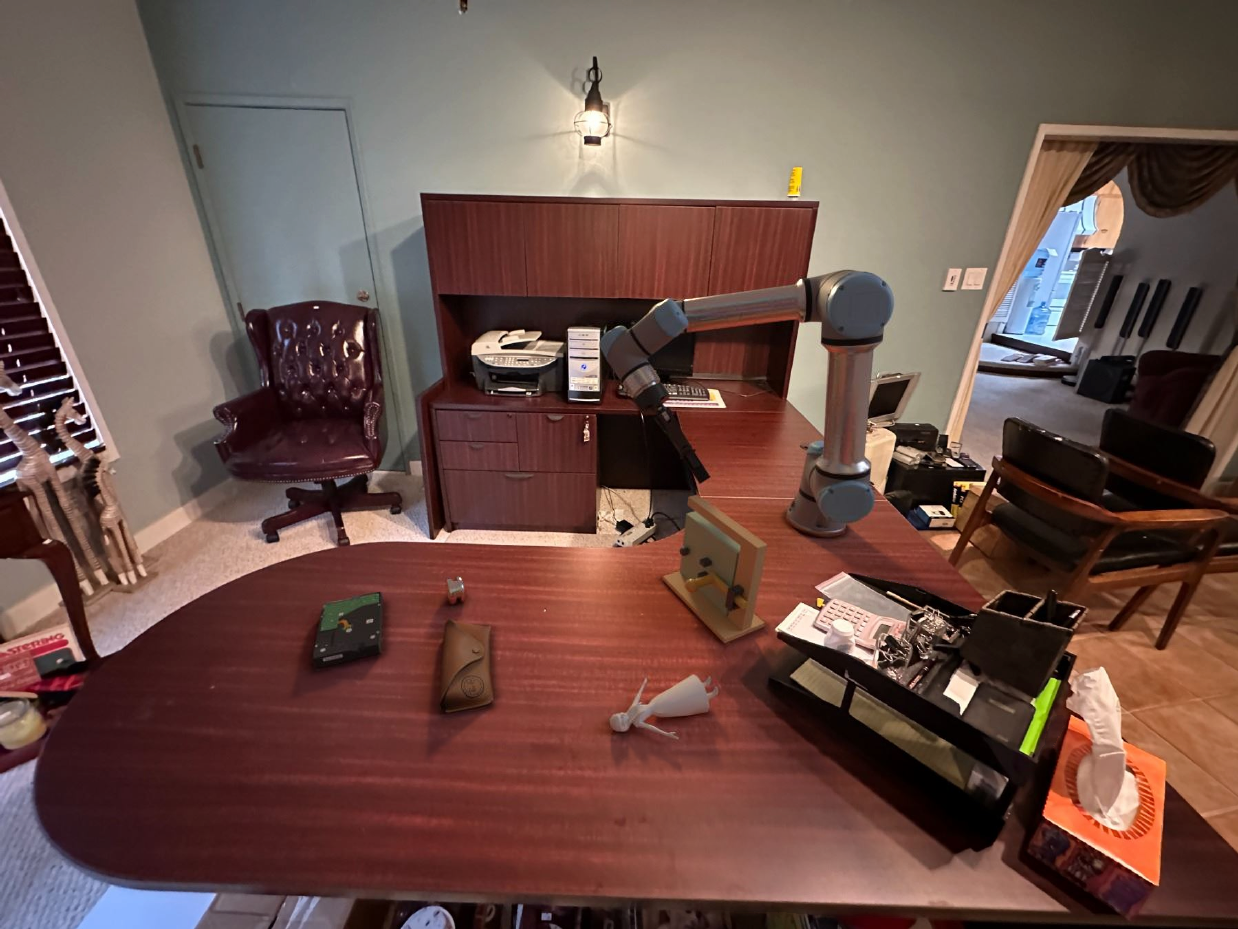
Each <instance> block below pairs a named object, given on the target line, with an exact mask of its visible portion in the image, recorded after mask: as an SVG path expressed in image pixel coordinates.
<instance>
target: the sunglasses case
mask: <svg viewBox="0 0 1238 929" xmlns="http://www.w3.org/2000/svg"><path fill="white" fill-rule="evenodd" d="M491 633H492V625H481V624H474V623H468V622H463V621H462V622H461V621H457V620H453V619H452V618H449V619H448V620H447V621H446V622H445V624H444V630H443V640H442V653H441V667H440V679H439V680H440V682H439V702H438V704H439V709H440V710H441V711H442V712H444V713H446V714H452V713H458V712H463V711H464V712H465V711H467V710H468V711H469V710H473V709H476V708H481V707H484V706H487V705H490V704H491V703H493V702H494V690H493V683H492V675H491V674H492V673H491V650H490V649H491Z"/></svg>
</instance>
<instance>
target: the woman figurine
mask: <svg viewBox="0 0 1238 929" xmlns="http://www.w3.org/2000/svg"><path fill="white" fill-rule="evenodd" d="M642 682H643V683H642V685H641V686H640V688H639V691H638V692H637V693H636V696H635V698H634V700H633V702H632V704H631V705H630V706H629V708H628V710H627V711H626V712H618V713H617V712H616V713H614V714H612V716H610V718H609V725H610V727H611V728H612V729H613V730H614V731H615V732H626V731H628V730H629V728H630V727H631V725H633V726H635V728H637V729H638V728H642V729H646V730H650V731H651V732H654V733H657V734H661V735H663V736H666V737H668V738H671V739H672V740H679V736H676V735H674V734H676V732H674V731H673V732H672V731H671V732H666V731H664V730H661V729H659V728H658V727H656V726H654V725H652V724H649V723H646V722H645V721H646V720H647V719H648V718H649V717H651V716H655V717H658V718H672V717H683V716H691V715H699V714H704V713H708V712H709V710H710V708H711V707H710V700H711V699H713V698H714V697H716V696H718V695H719V688H718V686H715V687H714V689H713V690H712V691H711V692H709V693H708V692H707V689H706V687H707V686H709V685H711V682H712V678H711V676H708V677H707V679H706V681H704V682H702V680H701V679H700V678H699V677H698V675H697V674H694V673H693V674H691V675H690V676H689V675H688V677H686V678H684V679H682V680H681V681H679V682H678V683H676V684H675V685H673V686H671V687H670V688H668V689H666V690H664V691H663V692H661V693H659V694H657V695H655V697H652V699H651V700H650V701H649V702H648V704H642V703H643V702H639V701H640V699H641V696H642V693H643V690H644V688H645V686H646V685H647V683H648V679H647V678H645V679H644V680H643V681H642Z"/></svg>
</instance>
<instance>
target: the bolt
mask: <svg viewBox="0 0 1238 929" xmlns="http://www.w3.org/2000/svg"><path fill="white" fill-rule="evenodd" d="M712 583H714V584H715V585H716V586H717V587H718V588H719V589H720V590H721V591H722V592H723V593H725V594H726V595H727V591H728V588H729V586H728V585H727V584H726V583H725V582H724V581H723V580H721V579H720V578H719V577H718V576H717V575H716V574H715V573H713V572H710V573H709V574H708V575H706V576H703V577H700V578H697V579H688V580H687V581H686V583H685V588H686V590H687V591H689V592H696V591H697V590H698V588H701V587H704V586H707V585H710V584H712ZM734 603H736V604H737V605H738V606H739V607H740V608H741V609H745V608H746V607H747V606H748V603H747V602H746V601H745V600H744V599H743V598H742V597H741V596H740V595H737V596H735V597H734Z"/></svg>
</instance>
